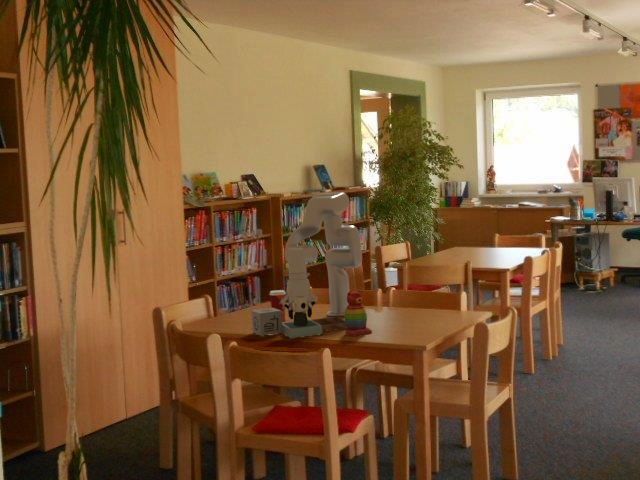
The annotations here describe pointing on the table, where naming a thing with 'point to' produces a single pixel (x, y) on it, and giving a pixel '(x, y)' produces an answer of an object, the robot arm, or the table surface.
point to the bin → (301, 329)
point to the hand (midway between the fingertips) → (300, 317)
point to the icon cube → (267, 321)
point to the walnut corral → (338, 320)
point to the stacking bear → (356, 315)
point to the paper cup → (278, 301)
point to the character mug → (300, 311)
